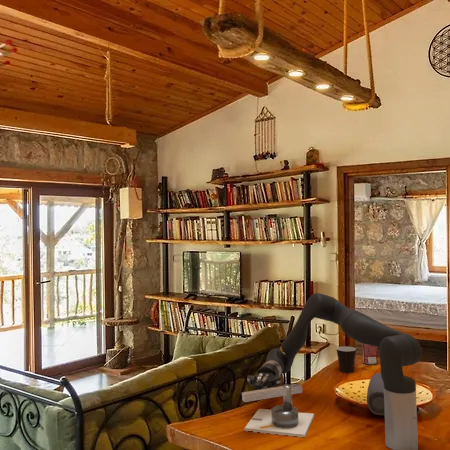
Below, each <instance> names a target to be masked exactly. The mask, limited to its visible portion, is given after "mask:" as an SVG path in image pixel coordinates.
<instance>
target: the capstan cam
mask: <svg viewBox="0 0 450 450" xmlns="http://www.w3.org/2000/svg"><path fill="white" fill-rule="evenodd" d="M302 393H303V385H302V384H300V383H293V384H289V383H286V384H283V385H279V386H275V387H271V388H267V387H266V388H263V389H261V390H255V389H254V390H250V391H243V392H241V398H242V399H241V400H242V401H243V402H244V403H249V402H253V401H259V400H267V399H272V398H278V397H279V398H280V397H282V402H283V403H282V404H279V405H276V406H273V407H271V409H270V410H271V416H272V423H273V424H274V425H276V426H280V427H291V426H295V425H297V424H298V423H299V418H298V412H299V408H298V407H296V406H295V405H293V395H296V394H302Z"/></svg>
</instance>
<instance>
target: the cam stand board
mask: <svg viewBox="0 0 450 450" xmlns="http://www.w3.org/2000/svg"><path fill="white" fill-rule="evenodd" d="M298 418H299V423H298V424H297V425H295V426H291V427H280V426H276V425H274V424H273V423H272V416H271V409H267V408H266V409H264V408H258V409H257V411H256V412H255V413H254V415H253V416H252V418H251V419H250V420H249V422H247V424H246V426H245V427H244V432H248V431H253V432H252V433H257V432H260V433H259V434H266V433H270V434H269V435H275V434H278V436H284V435H288V436H287V437H293V436H297V437H296V438H302V437H305V438H306V436H307V435H308V432H309V429H310V427H311V425H312V422H313V420H314V418H315V413H311V412H310V413H309V412H299V411H298Z"/></svg>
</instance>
